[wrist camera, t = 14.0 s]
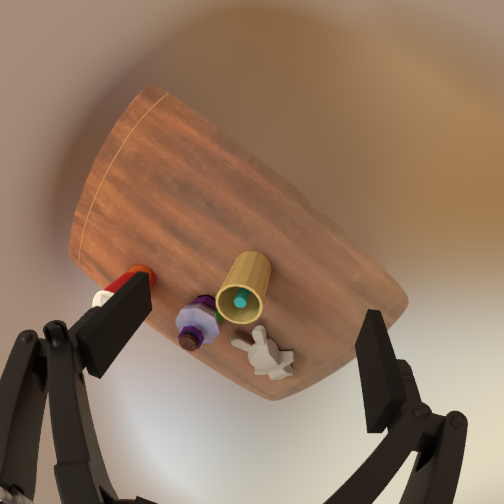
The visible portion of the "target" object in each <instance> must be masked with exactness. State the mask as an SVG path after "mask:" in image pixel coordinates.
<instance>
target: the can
mask: <svg viewBox="0 0 504 504" xmlns="http://www.w3.org/2000/svg"><path fill="white" fill-rule="evenodd" d="M270 276H271V264H270V262H269V260H268V259H267V257H266V256H264V255H263V254H262V253H260V252H257V251H245V252H243V253H241V254H239V255H238V256H237V257H236V259H235V261H234V262H233V264H232V266H231V268H230V270H229V272H228V274H227V276H226V278H225V280H224V282H223V284H222V286H221V288H220V290H219V292H218V294H217V296H216V307H217V309H218V312H219V313H220V314H221V315H222V316H223V317H224V318H225V319H227V320H229V321H230V322H232V323H237V324H247V323H251V322H253V321H255V320H257V319H258V317H259V316H260V315H261V313H262V310H263V306H264V301H265V297H266V293H267V289H268V284H269V280H270ZM240 287H244V288H246V289H248V290H250V295H249V298H248V301H247V304H246V306H245V307H243V308H239V307H237V306H236V305H235V304H234V300H235V298H236V295H237V293H238V290H239V288H240Z"/></svg>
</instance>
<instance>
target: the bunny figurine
mask: <svg viewBox="0 0 504 504" xmlns="http://www.w3.org/2000/svg"><path fill="white" fill-rule="evenodd" d="M252 336H253V338H254V340H255V343H254V344H253V345H249V344H247V343H246V342H244V341H242V340H240V339H239V338H237V337H232V338H231V339H230V341H231V344H232V345H233V346H234V347H237V348H239V349H242V350H245V351H247V353H248V357H249V362H250V363H251V365H252V366H253V367H255V369H254V374H255V375H263V374H268V375H269V378H270V379H271V380H275V379H277V380H280V379H283V378H284V376H285V377H289V376H291V375H293V369H292V367H291V364H290V363H292V362H293V361H294V353H293V351H279V350H278V347H277V345H276V344H275V342H274V341H273V340H272V339H266V330H265V328H264V327H263V326H261V325H260V326H256V327H255V328H254V330H253V331H252Z"/></svg>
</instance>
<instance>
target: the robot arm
mask: <svg viewBox="0 0 504 504" xmlns="http://www.w3.org/2000/svg"><path fill="white" fill-rule="evenodd" d="M151 311H152V303H151V292H150V280H149V273H147V272H142V271H137V272H136V273H135V274H134V275H133V276H132V277H131V278H130V279H129V280H128V281H127V282H126V283H125V284H124V285H123V286H122V287H121V288H120V289H119V290H118V291H117V292H116V293H115V294H114V295H113V296H111V297H110V298H109V299H108V300H107V301H106V302H105V303H104V304H103V305H102V306H101V307H100V306H95V307H93V308H91V309H90V310H88V311H87V312H86V313H85V314H84V316H82V317H81V318H80V320H78V321H77V322H76V323H75V324H74V325H73V326H72V327H71V328H70V329H69V330H67V327H66V324H65V323H64V322H63V321H60V320H54V321H50V322H49V323H47V324H46V325H45V326H44V328H43V332H44V335H45V338H46V339H41V338H38V335H37V333H36V332H35V331H34V330H25V331H23V332H21V333H20V334H19V335H18V337H17V339H16V341H15V344H14V346H13V348H12V350H11V353H10V355H9V358H8V361H7V363H6V366H5V369H4V371H3V374H2V376H1V379H0V504H34V503H33V498H34V494H35V486H36V472H37V460H38V459H37V458H38V450H39V441H40V434H41V426H42V421H43V415H44V409H45V403H46V399H47V394H48V392H49V406H50V416H51V425H52V433H53V439H54V446H55V451H56V458H57V464H56V465H55V466H54V474H55V478H56V483H57V487H58V491H59V495H60V499H61V503H62V504H157V503H154V502H152V501H149V500H146V499H143V498H141V497H138V496H137V497H136V499H135V500H132V499H120V500H119V498H118V496H117V494H116V492H115V490H114V489H113V487H112V485H111V482H110V480H109V477H108V474H107V471H106V468H105V464H104V461H103V458H102V455H101V452H100V448H99V444H98V440H97V437H96V433H95V429H94V425H93V420H92V416H91V412H90V408H89V402H88V397H87V391H86V386H85V380H84V375H83V373H82V371H83V369H84V368H85V367H86V368H87V371H88V373H89V374H90V375H92V376H94V377H97V378H99V379H101V377H102V376H103V375H104V373H105V372H106V370H107V369H108V368H109V366H110V365H111V364H112V362H113V361H114V360H115V358H116V357H117V355H118V354H119V353H120V351H121V350H122V349H123V347H124V346H125V345H126V343H127V342H128V341H129V339H130V338H131V337H132V335H133V334H134V333H135V331H136V330H137V329H138V328H139V326H140V325H141V324H142V322H143V321H144V320H145V318H146V317H147V316H148V315H149V313H150V312H151ZM355 349H356V354H357V360H358V366H359V372H360V379H361V386H362V393H363V401H364V408H365V416H366V424H367V433H382V432H383V431H384V430H385V428H386V427H387V429H388V434H387V435H386V437H385V438H384V439H383V440H382V442H381V443H380V444H379V445H378V446H377V448H376V449H375V450H374V452H372V454H371V455H370V456H369V457H368V458H367V459H366V461H365V462H364V463H363V464H362V465H361V466H360V467H359V468H358V469H357V470H356V472H355V473H354V474H353V475H352V476H351V477H350V478H349V479H348V480H347V481H346V482H345V483H344V484H343V485H342V486H341V487H340V488H339V489H338V490H337V491H336V492H335V493H334V494H333V495H332V496H331V497H330V498H329V499H327V500H326V502H324V503H323V504H372V503H373V502H374V501H375V499H376V498H377V497H378V496H379V495H380V493H381V492H382V491H383V490H384V488H385V487H386V486H387V485H388V483H389V482H390V480H391V479H392V478H393V477H394V475H395V474H396V473H397V471H398V470H399V469H400V467H401V466H402V464H403V463H404V461H405V460H406V459H407V457H408V456H409V454H410V452H411V451H416V452H418V454H417V457H416V460H415V463H414V466H413V469H412V472H411V475H410V477H409V480H408V483H407V485H406V488H405V490H404V493H403V495H402V498H401V500H400V503H399V504H453V500H454V496H455V493H456V488H457V485H458V480H459V476H460V471H461V466H462V461H463V454H464V449H465V443H466V436H467V427H468V421H467V418H466V416H464V415H463V414H462V413H461V412H459V411H451V412H449V413H448V414H447V415H446V416H441V415H437V414H434V413H432V411H431V409H430V407H429V406H428V405H426V404H425V403H423V402H422V401H421V398H420V394H419V391H418V388H417V385H416V382H415V379H414V376H413V372H412V369H411V367H410V365H409V364H408V363H407V362H406V361H405V360H400V359H396V357H395V354H394V350H393V347H392V344H391V341H390V338H389V335H388V332H387V329H386V326H385V323H384V320H383V317H382V315H381V312H380V311H379V310H371V309H368V311H367V314H366V317H365V320H364V322H363V325H362V328H361V330H360V333H359V336H358V338H357V341H356V344H355Z"/></svg>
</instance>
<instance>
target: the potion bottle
mask: <svg viewBox="0 0 504 504" xmlns="http://www.w3.org/2000/svg"><path fill="white" fill-rule="evenodd" d="M221 322H222V315H221V314H220V313H219V312H218V309H217V307H216V299H215V298H213V297H212V296H210V295H202V296H198V298H197V299H196V300H194V301H193V302H192V303H189V304H187V305H186V306H185V307H184V308H182V309H181V311H180V312H179V314H178V316H177V318H176V320H175V323H176V325H177V328H178V330H179V332H180V334H179V336H178V337H179V343H180V345H181V346H182V347H183V348H184V349H186V350H188V351H194V350H196V349H199V347H200V346H201V344H209V343H213V341H214V340H215V339H216V337H217V336H218V335H219V333H220V324H221Z"/></svg>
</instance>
